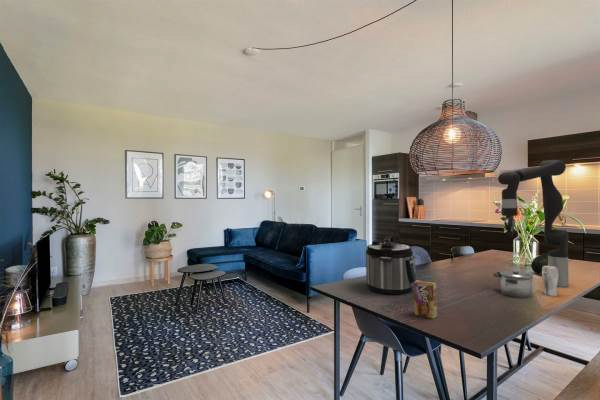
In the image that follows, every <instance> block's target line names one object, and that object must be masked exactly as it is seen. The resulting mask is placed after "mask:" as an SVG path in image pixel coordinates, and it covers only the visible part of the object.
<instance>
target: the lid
mask: <svg viewBox="0 0 600 400" xmlns="http://www.w3.org/2000/svg"><path fill="white" fill-rule="evenodd" d="M496 272H497V273H498V274H500V275H502V276H505V277H510V278H517V279H531V278H532V279H533V277H534V275H533V274H531V273H530V272H525V271H521V270H510V269H509V270H498V271H496Z"/></svg>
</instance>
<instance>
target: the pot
mask: <svg viewBox="0 0 600 400" xmlns="http://www.w3.org/2000/svg"><path fill="white" fill-rule="evenodd" d="M497 272H498V271H495V272H494V273H493V277H494V278H498V279H499V278H500V293H501V294H503V295H505V296H509V297H513V298H520V299H527V298H528V299H529V298H532V297H533V291H532V290H533V284H532V283H533V282H532V281H533V280H532V279H533V278H531V279H517V278H510V277H505V276H502V275H500V274H498V273H497Z"/></svg>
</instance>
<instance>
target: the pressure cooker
mask: <svg viewBox="0 0 600 400" xmlns="http://www.w3.org/2000/svg"><path fill="white" fill-rule="evenodd" d="M413 254H414V252H413V250H412V246H410V245H407V244H401V243H396V240H395V238H394V236H392V235H386V236H385V237H384V239H383V242H380V241H378V240H377V239H376V240H373V241H372V242H371V244H368V245H367V246H366V249H365V271H366V273H365V276H366V277H365V278H366V279H365V280H366V281H365V282H366V286H367V288H368V289H369V290H371V291H373V292H376V293H379V294H384V295H385V294H387V295H399V294H406V293H409V292H410V291H411V290H412V289H413V288H414V282H415V281H416V280H417V275H416V261H415V256H414V255H413Z"/></svg>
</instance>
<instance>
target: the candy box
mask: <svg viewBox="0 0 600 400" xmlns="http://www.w3.org/2000/svg"><path fill="white" fill-rule="evenodd" d="M413 288H414V289H413V290H414V292H413V293H414V294H413V295H414V315H416V316H420V317H425V318H430V319H435V318H437V317H438V304H437V303H438V302H437V301H438V300H437V283H436V282H432V281H431V282H430V281H427V280H418V279H416V280H415V282H413Z"/></svg>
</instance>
